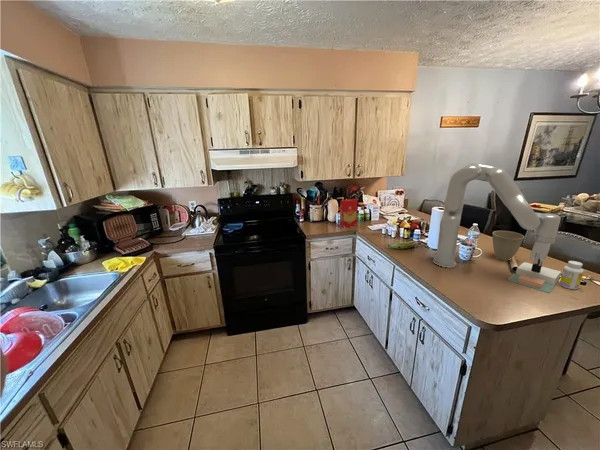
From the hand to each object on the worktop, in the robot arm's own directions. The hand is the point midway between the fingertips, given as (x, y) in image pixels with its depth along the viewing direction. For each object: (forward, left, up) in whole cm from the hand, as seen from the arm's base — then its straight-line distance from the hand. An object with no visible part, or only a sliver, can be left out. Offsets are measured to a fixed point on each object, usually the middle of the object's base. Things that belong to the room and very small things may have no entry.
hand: (535, 271), depth 128 cm
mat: (0, -4, -5) cm, 7 cm away
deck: (0, +7, -5) cm, 8 cm away
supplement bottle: (+12, +6, -5) cm, 14 cm away
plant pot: (-19, +20, -5) cm, 28 cm away
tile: (0, -6, -2) cm, 6 cm away
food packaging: (-131, -3, -5) cm, 131 cm away
